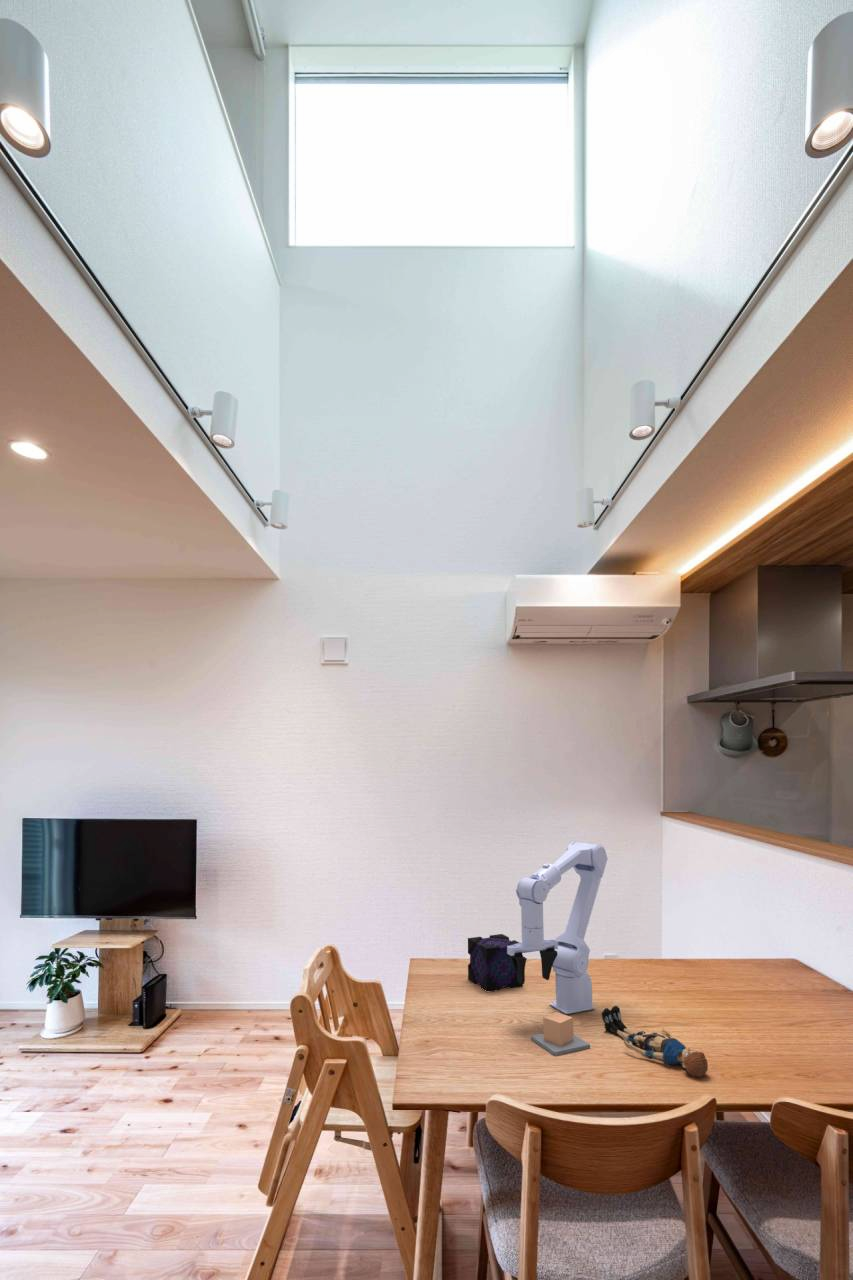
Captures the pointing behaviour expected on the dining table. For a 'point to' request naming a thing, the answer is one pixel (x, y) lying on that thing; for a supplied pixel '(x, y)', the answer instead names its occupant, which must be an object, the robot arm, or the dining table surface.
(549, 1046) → the plate
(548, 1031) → the terracotta cube
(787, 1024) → the dining table surface
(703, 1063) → the figurine
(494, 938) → the energy cube
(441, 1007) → the dining table surface
